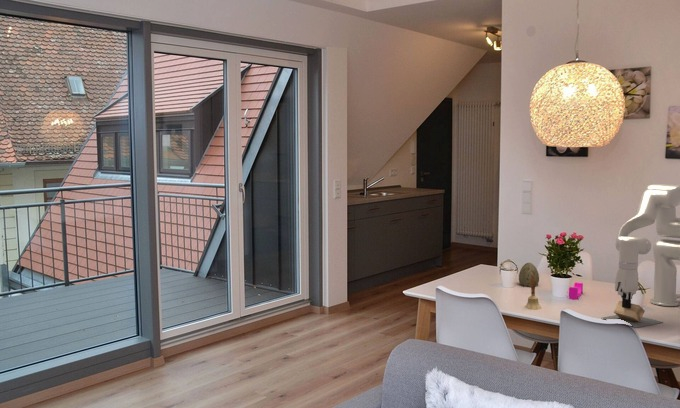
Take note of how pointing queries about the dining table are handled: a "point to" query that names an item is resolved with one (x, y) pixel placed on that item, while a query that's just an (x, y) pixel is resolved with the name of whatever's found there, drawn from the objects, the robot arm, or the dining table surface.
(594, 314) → the dining table surface
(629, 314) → the oak block
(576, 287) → the toy block
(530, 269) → the decorative egg
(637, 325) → the mat
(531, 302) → the hand bell
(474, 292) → the dining table surface
